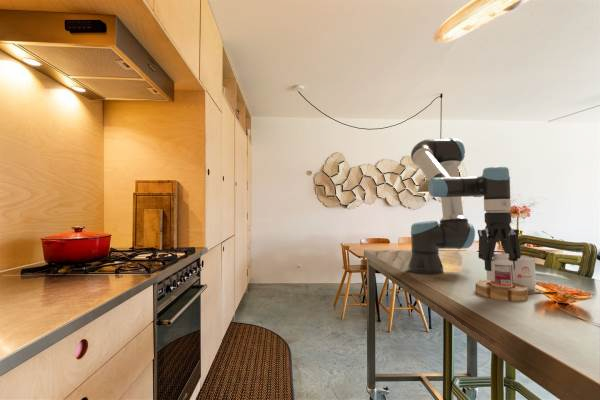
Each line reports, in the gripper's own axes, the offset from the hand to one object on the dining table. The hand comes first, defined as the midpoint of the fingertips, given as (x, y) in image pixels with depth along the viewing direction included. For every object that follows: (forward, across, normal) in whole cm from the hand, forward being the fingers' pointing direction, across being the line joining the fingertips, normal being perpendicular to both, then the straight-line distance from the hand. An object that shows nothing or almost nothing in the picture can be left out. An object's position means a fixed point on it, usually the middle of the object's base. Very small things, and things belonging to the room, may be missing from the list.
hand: (500, 279), depth 95 cm
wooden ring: (+5, 0, 0) cm, 5 cm away
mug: (+5, +11, +6) cm, 14 cm away
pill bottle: (+2, 0, 0) cm, 2 cm away
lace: (+5, +14, -1) cm, 14 cm away
